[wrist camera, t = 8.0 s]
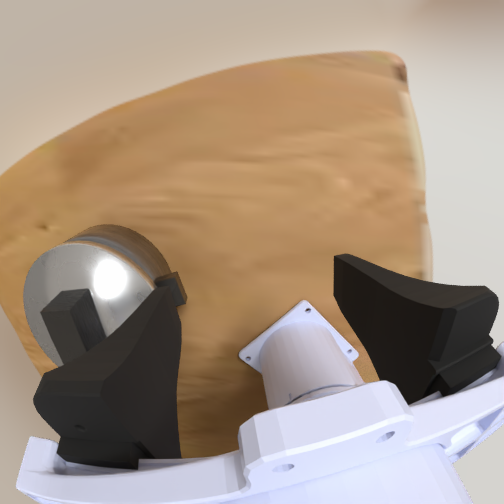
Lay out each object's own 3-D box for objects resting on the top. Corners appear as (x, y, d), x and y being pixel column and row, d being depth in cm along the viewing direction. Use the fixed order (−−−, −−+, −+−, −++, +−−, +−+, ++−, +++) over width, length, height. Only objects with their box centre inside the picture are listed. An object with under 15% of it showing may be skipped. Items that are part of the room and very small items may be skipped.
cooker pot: (165, 199, 21) (149, 211, 16) (210, 323, 25) (207, 359, 20) (34, 251, 21) (3, 270, 16) (82, 350, 25) (64, 381, 20)
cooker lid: (151, 227, 17) (130, 247, 13) (190, 381, 20) (186, 419, 17) (12, 252, 16) (-20, 272, 12) (64, 380, 20) (47, 410, 16)
